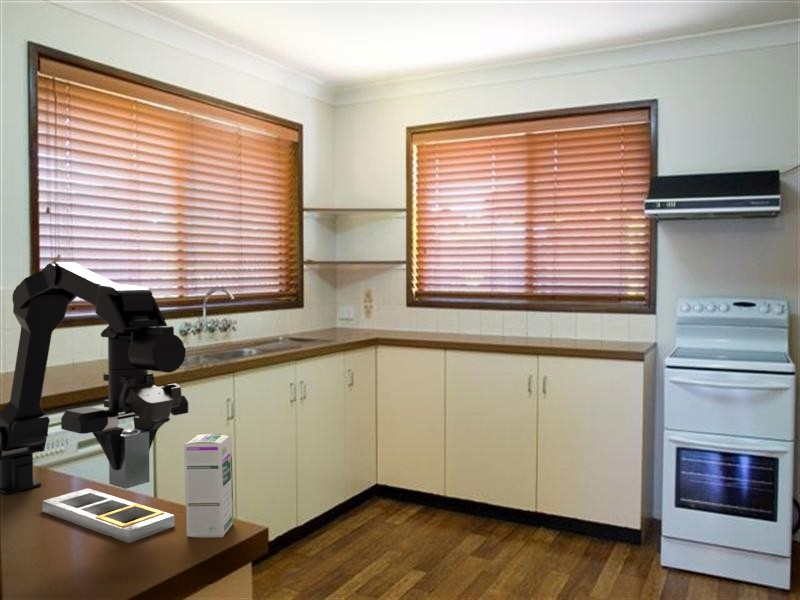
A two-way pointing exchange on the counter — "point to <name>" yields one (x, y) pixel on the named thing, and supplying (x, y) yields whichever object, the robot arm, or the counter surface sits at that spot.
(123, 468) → the gray knob block
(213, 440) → the syrup box
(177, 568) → the counter surface
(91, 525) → the socket frame
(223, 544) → the counter surface
